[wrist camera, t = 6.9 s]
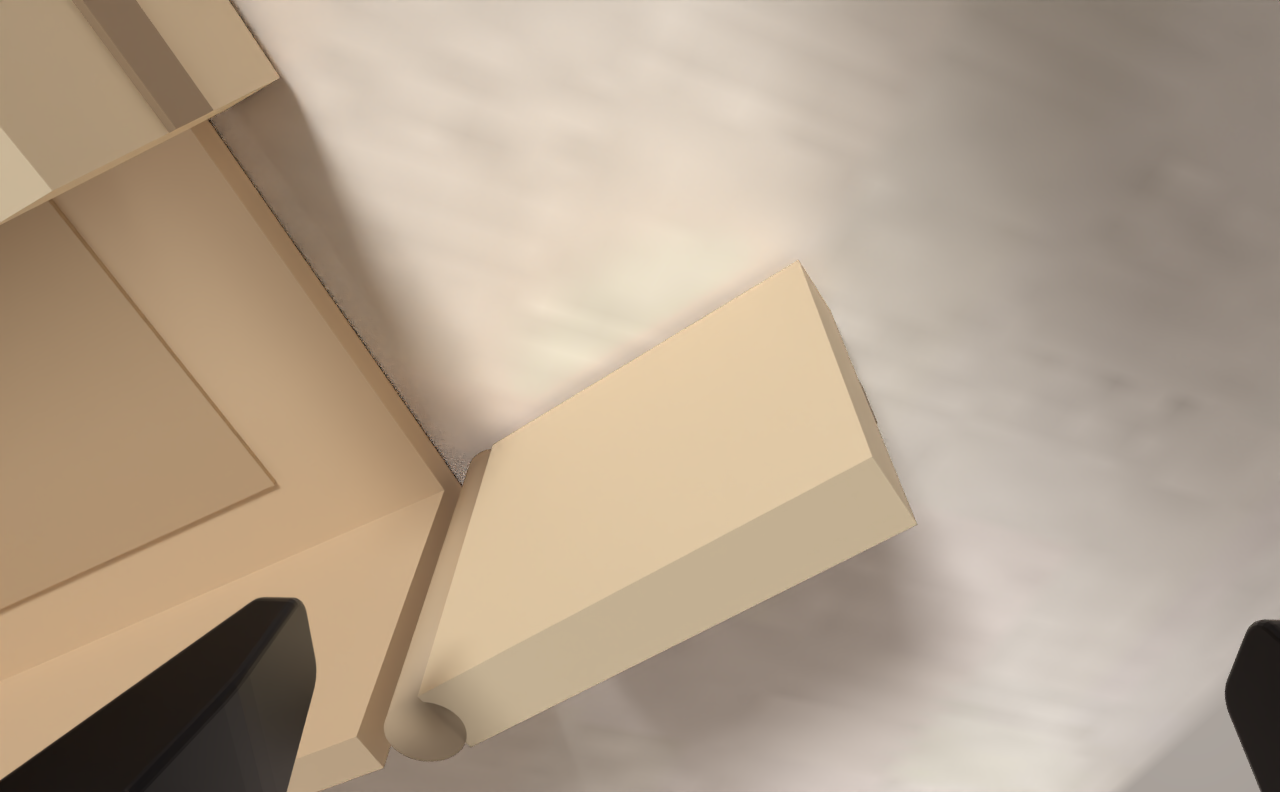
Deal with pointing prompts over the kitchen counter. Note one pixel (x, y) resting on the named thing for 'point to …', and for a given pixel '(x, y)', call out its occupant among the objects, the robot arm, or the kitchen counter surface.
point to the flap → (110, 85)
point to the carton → (197, 457)
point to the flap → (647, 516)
